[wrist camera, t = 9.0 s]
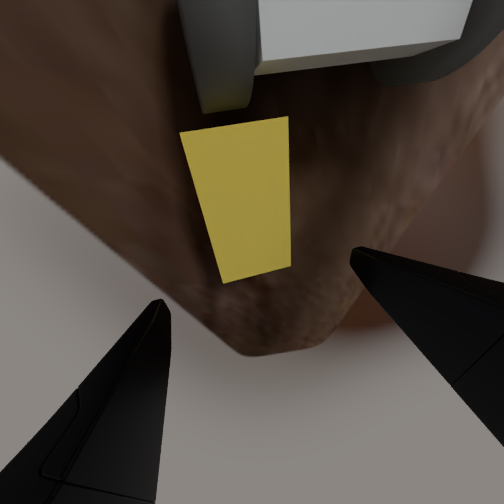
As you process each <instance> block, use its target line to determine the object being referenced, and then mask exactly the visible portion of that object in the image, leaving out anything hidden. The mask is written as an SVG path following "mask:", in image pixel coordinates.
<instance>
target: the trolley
mask: <svg viewBox="0 0 504 504" xmlns="http://www.w3.org/2000/svg"><path fill="white" fill-rule="evenodd" d="M176 4H177V8H178V13H179V17H180V22H181V26H182V31H183V35H184V40H185V44H186V49H187V53H188V57H189V62H190V66H191V70H192V75H193V79H194V83H195V87H196V91H197V95H198V99H199V103H200V106H201V110H202V113H203V114H206V113H213V112H220V111H227V110H234V109H241V108H246V107H247V106H248V104H249V101H250V98H251V94H252V88H253V81H254V76H255V75H263V74H271V73H280V72H288V71H296V70H304V69H312V68H321V67H329V66H337V65H345V64H353V63H362V62H369V64H370V68H371V71H372V73H373V75H374V77H375V78H376V79H377V80H378V82H380V83H381V84H383V85H386V86H392V87H394V86H401V85H408V84H415V83H422V82H429V81H434V80H437V79H440V78H442V77H444V76H447V75H449V74H450V73H452V72H454V71H456V70H457V69H459V68H460V67H462V66H463V65H465V64H466V63H467V62H469V61H470V60H471V59H472V58H474V57H475V56H476V55H477V54H479V53H480V52H481V51H482V50H483V49H484V48H485V47H486V46H487V45H488V44H489V43H490V42H491V41H492V40H493V39H494V38H495V37H496V36H497V35H498V34H499V33H500V32H501V31H502V30H503V29H504V0H176Z"/></svg>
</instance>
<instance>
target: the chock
mask: <svg viewBox="0 0 504 504" xmlns="http://www.w3.org/2000/svg"><path fill="white" fill-rule="evenodd" d="M180 137H181V140H182V144H183V147H184V151H185V154H186V158H187V161H188V164H189V168H190V171H191V175H192V178H193V182H194V185H195V188H196V192H197V195H198V199H199V202H200V206H201V209H202V212H203V216H204V219H205V223H206V226H207V230H208V233H209V237H210V240H211V243H212V247H213V250H214V254H215V257H216V261H217V264H218V267H219V271H220V274H221V278H222V281H223V284H224V283H227V282H231V281H235V280H239V279H243V278H247V277H250V276H254V275H258V274H262V273H266V272H270V271H273V270H277V269H281V268H285V267H289V266H291V242H290V186H289V129H288V116H286V117H280V118H273V119H266V120H260V121H253V122H247V123H240V124H234V125H227V126H221V127H214V128H208V129H201V130H194V131H188V132H181V133H180Z"/></svg>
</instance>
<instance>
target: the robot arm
mask: <svg viewBox="0 0 504 504" xmlns="http://www.w3.org/2000/svg"><path fill="white" fill-rule="evenodd" d="M350 266H351V268H352V269H353V270H354V272H355V273H356V275H357V276H358V277H359V279H360V280H361V282H362V283H363V284H364V286H365V287H366V289H367V290H368V291H369V292H370V294H371V295H372V296H373V297H374V298H375V299H376V300H377V302H378V303H379V304H380V305H381V306H382V307H383V309H384V310H385V311H386V312H387V313H388V314H389V316H391V318H392V319H393V320H394V321H395V322H396V324H397V325H398V326H399V327H400V328H401V329H402V330H403V332H404V333H405V334H406V335H407V336H408V337H409V338H410V340H411V341H412V342H413V343H414V344H415V345H416V346H417V348H418V349H419V350H420V351H421V352H422V353H423V355H424V356H425V357H426V358H427V359H428V360H429V361H430V363H431V364H432V365H433V366H434V367H435V368H436V369H437V370H438V372H439V373H440V374H441V375H442V376H443V377H444V379H445V380H446V381H447V382H448V383H449V384H450V385H451V387H452V388H453V389H454V390H455V392H457V394H458V395H459V396H460V397H461V398H462V400H463V401H464V402H465V403H466V404H467V405H468V406H469V408H470V409H471V410H472V411H473V412H474V413H475V414H476V416H477V417H478V418H479V419H480V420H481V421H482V423H484V425H485V426H486V427H487V428H488V429H489V431H490V432H491V433H492V434H493V435H494V436H495V437H496V439H497V440H498V441H499V442H500V443H501V444H502V446H503V447H504V283H503V282H499V281H494V280H490V279H486V278H482V277H478V276H474V275H470V274H466V273H463V272H458V271H454V270H451V269H447V268H443V267H439V266H435V265H432V264H428V263H424V262H420V261H416V260H412V259H408V258H405V257H401V256H397V255H393V254H389V253H385V252H382V251H378V250H374V249H370V248H366V247H362V246H361V247H356V248H354V249H353V250H352V252H351V257H350ZM170 358H171V313H170V311H169V309H168V307H167V305H166V303H165V302H164V300H163V299H158V300H154V301H152V302H151V303H150V304H149V305H148V306H147V307H146V308H145V309H144V311H143V312H142V313H141V314H140V315H139V316H138V318H137V319H136V320H135V321H134V322H133V323H132V325H131V326H130V327H129V328H128V329H127V330H126V332H125V333H124V334H123V335H122V336H121V337H120V339H119V340H118V341H117V342H116V343H115V345H114V346H113V347H112V348H111V349H110V350H109V351H108V353H107V354H106V355H105V356H104V357H103V358H102V359H101V361H100V362H99V363H98V364H97V365H96V367H95V368H94V369H93V370H92V371H91V372H90V373H89V375H88V376H87V377H86V378H85V379H84V381H83V382H82V383H81V384H80V385H79V386H78V389H76V390H75V391H74V392H73V393H72V394H71V395H70V397H69V398H68V399H67V400H66V401H65V402H64V403H63V405H62V406H61V407H60V408H59V409H58V410H57V412H56V413H55V414H54V415H53V416H52V417H51V418H50V419H49V420H48V422H47V423H46V424H45V425H44V426H43V427H42V428H41V429H40V430H39V431H38V432H37V433H36V435H35V436H34V437H33V438H32V439H31V440H30V441H29V442H28V443H27V445H25V446H24V448H23V449H22V450H21V451H20V452H19V453H18V454H17V455H16V456H15V457H14V458H13V459H12V460H11V461H10V462H9V463H8V464H7V465H6V467H5V468H4V469H3V470H2V471H1V472H0V504H155V503H154V502H155V500H156V491H157V482H158V472H159V463H160V454H161V444H162V435H163V424H164V416H165V406H166V396H167V387H168V377H169V368H170Z"/></svg>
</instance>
